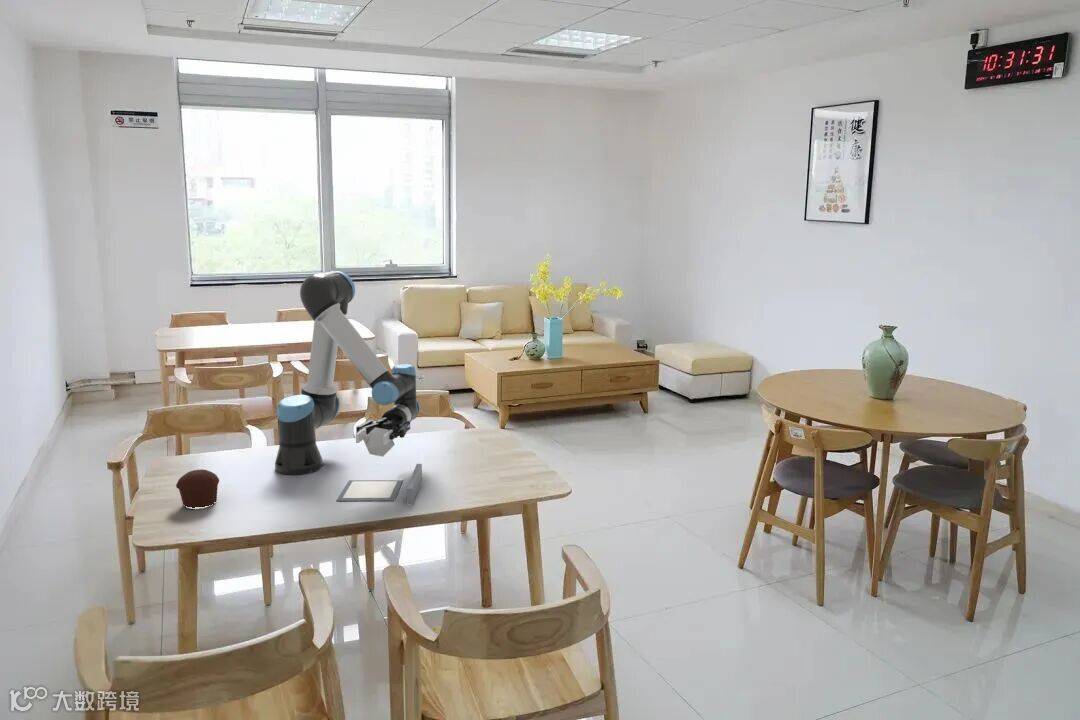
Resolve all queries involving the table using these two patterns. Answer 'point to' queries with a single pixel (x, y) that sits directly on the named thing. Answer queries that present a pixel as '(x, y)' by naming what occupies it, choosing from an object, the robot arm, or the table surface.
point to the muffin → (198, 488)
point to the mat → (370, 491)
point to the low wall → (414, 484)
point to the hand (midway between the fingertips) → (370, 439)
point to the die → (377, 442)
